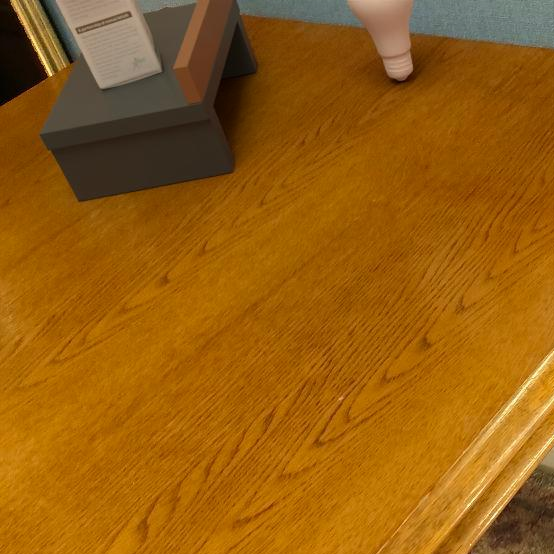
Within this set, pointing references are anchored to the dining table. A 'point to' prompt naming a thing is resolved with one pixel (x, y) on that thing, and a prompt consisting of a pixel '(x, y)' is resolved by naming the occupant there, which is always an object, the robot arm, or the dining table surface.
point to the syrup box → (112, 39)
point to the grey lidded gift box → (153, 108)
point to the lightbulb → (388, 32)
